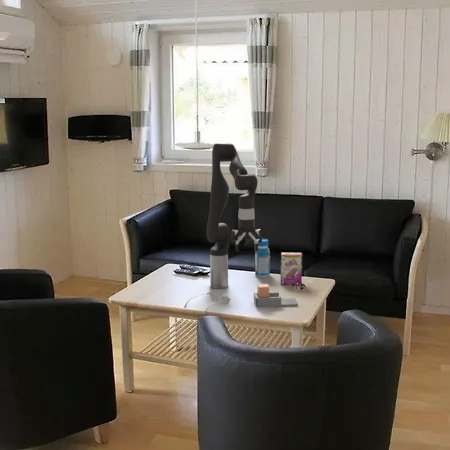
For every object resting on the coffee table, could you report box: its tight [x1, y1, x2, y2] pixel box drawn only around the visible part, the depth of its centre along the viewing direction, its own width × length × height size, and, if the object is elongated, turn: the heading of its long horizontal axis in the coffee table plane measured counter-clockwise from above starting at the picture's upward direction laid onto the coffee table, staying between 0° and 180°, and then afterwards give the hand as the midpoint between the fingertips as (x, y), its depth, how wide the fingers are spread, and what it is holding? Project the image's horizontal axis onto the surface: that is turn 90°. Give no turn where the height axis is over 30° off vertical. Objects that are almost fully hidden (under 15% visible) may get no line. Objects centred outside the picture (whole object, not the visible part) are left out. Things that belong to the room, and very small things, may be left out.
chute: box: [253, 291, 299, 309], centre depth 321 cm, size 20×9×4 cm, turn 94°
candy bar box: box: [280, 252, 303, 285], centre depth 353 cm, size 11×5×16 cm, turn 84°
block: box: [256, 283, 270, 298], centre depth 320 cm, size 5×5×8 cm
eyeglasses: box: [183, 292, 232, 314], centre depth 320 cm, size 15×18×4 cm
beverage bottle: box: [254, 238, 271, 278], centre depth 369 cm, size 8×8×20 cm
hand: (246, 251), depth 315 cm, fingers open, 8 cm apart
